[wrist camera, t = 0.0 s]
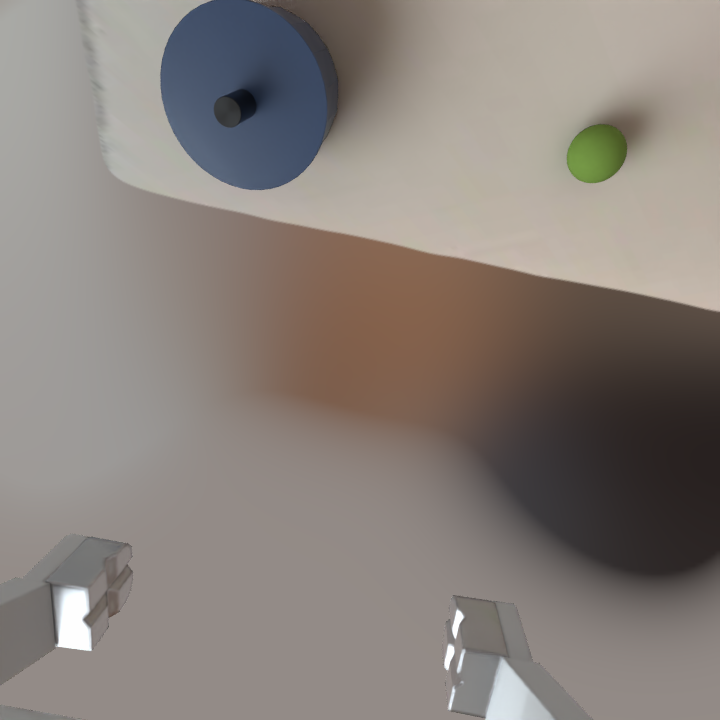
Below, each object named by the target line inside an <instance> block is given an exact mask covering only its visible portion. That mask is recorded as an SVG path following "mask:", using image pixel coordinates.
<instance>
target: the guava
mask: <svg viewBox="0 0 720 720" xmlns="http://www.w3.org/2000/svg"><path fill="white" fill-rule="evenodd" d="M626 154H627V143H626V140H625V137H624V135H623V134H622V133H621V132H620V131H619V130H618V129H617V128H615V127H613V126H610V125H605V124H599V125H594V126H591V127H588V128H586V129H585V130H583V131H582V132H580V133H579V134H578V135H577V136H576V137H575V138H574V140H573V141H572V143H571V145H570V147H569V149H568V153H567V164H568V168H569V170H570V172H571V173H572V175H573V176H574V177H576V178H577V179H578V180H580V181H583V182H586V183H597V182H602V181H604V180H607V179H608V178H610V177H612V176H613V175H614V174H615V173H616V172H617V171H618V170H619V169H620V168H621V166H622V165H623V163H624V161H625V158H626Z"/></svg>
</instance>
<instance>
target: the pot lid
mask: <svg viewBox="0 0 720 720" xmlns="http://www.w3.org/2000/svg"><path fill="white" fill-rule="evenodd" d="M161 93H162V100H163V104H164V109H165V112H166V115H167V118H168V121H169V123H170V125H171V128H172V130H173V132H174V134H175V136H176V137H177V139H178V141H179V142H180V144H181V145H182V147H183V148H184V150H185V151H186V152H187V154H188V155H189V156H190V157H191V158H192V159H193V160H194V161H195V162H196V163H197V164H198V165H199V166H200V167H201V168H202V169H203V170H205V171H206V172H208V173H209V174H210V175H212V176H213V177H215V178H217V179H219V180H220V181H222V182H225V183H227V184H229V185H232V186H235V187H239V188H243V189H249V190H264V189H271V188H275V187H279V186H281V185H284V184H286V183H288V182H290V181H291V180H293V179H295V178H296V177H298V176H299V175H300V174H301V173H302V172H303V171H304V170H305V169H306V168H307V167H308V166H309V165H310V164H311V162H312V161H313V159H314V158H315V156H316V155H317V153H318V151H319V149H320V146H321V144H322V142H323V138H324V135H325V132H326V126H327V120H328V96H327V90H326V84H325V81H324V77H323V74H322V70H321V68H320V65H319V63H318V61H317V58H316V56H315V55H314V53H313V51H312V49H311V47H310V46H309V44H308V43H307V41H306V40H305V39H304V37H303V36H302V35H301V33H300V32H299V31H298V30H297V29H296V28H295V27H294V26H293V25H292V24H291V23H290V22H289V21H288V20H286V19H285V18H284V17H283V16H282V15H280V14H279V13H277V12H275V11H274V10H272V9H271V8H268V7H266V6H264V5H262V4H260V3H257V2H253V1H250V0H213V1H210V2H207V3H204V4H202V5H200V6H198V7H197V8H195V9H193V10H192V11H190V12H189V13H188V14H187V15H186V16H185V17H184V18H183V19H182V20H181V21H180V22H179V24H178V25H177V26H176V27H175V29H174V31H173V32H172V34H171V36H170V37H169V40H168V42H167V45H166V47H165V51H164V55H163V59H162V65H161Z"/></svg>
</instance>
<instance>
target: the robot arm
mask: <svg viewBox="0 0 720 720" xmlns="http://www.w3.org/2000/svg"><path fill="white" fill-rule="evenodd" d="M131 558H132V546H131V545H129V544H128V543H123V542H117V541H111V540H106V539H100V538H95V537H87V536H82V535H76V534H70V535H68V536H66V537H64V538H63V540H61V541H60V542H59V543H58V544H57V545H56V546H55V547H54V548H53V549H52V550H51V551H50V552H49V553H48V554H47V555H46V556H45V557H44V558H43V559H42V560H41V561H40V562H38V564H36V565H35V566H34V567H33V568H32V569H31V570H30V571H29V572H28V573H27V574H26V575H25V576H24V577H23V578H14V579H11V580H9V581H7V582H4V583H2V584H0V685H2V684H3V683H5V682H6V681H8V680H9V679H11V678H12V677H14V676H15V675H17V674H18V673H20V672H21V671H23V670H24V669H25V668H27V667H29V666H30V665H31V664H33V663H34V662H36V661H37V660H39V659H40V658H41V657H43V656H45V655H46V654H48V653H49V652H51V651H52V650H54V649H55V648H56V646H59V647H66V648H74V649H81V650H89V651H92V650H93V649H94V647H95V646H96V644H97V643H98V642H99V640H100V639H101V637H102V636H103V634H104V633H105V632H106V630H107V629H108V627H109V623H108V618H109V617H111V616H113V615H115V614H116V613H118V612H120V610H121V608H122V607H123V606H124V604H125V603H126V601H127V598H128V596H129V593H130V591H131V587H132V581H133V571H132V570H131V569H130V567H129V566H128V565H127V563H128V562H129V561H130V559H131ZM449 612H450V619H449V620H448V621H446V623H445V629H444V635H443V665H444V667H445V668H446V669H447V671H448V673H447V677H446V682H445V686H446V695H447V705H448V711H451V712H456V713H461V714H466V715H471V716H477V717H481V718H486V719H485V720H593V719H592V718H591V717H590V716H589V715H588V714H587V712H585V710H584V709H583V708H582V707H581V706H580V705H579V704H578V703H577V702H576V701H575V700H574V699H573V698H572V697H571V696H570V695H569V694H568V693H567V692H566V690H565V689H564V688H563V687H562V686H561V685H560V684H559V683H558V682H557V681H556V680H555V679H554V678H553V677H552V676H551V675H550V673H549V672H548V671H547V670H546V669H545V668H544V667H543V666H542V665H541V664H540V663H536V662H533V659H532V656H531V652H530V649H529V646H528V643H527V639H526V636H525V633H524V630H523V627H522V623H521V620H520V617H519V613H518V610H517V607H516V606H515V605H514V604H512V603H505V602H498V601H489V600H482V599H476V598H469V597H462V596H456V595H453V596H452V598H451V602H450V606H449ZM0 720H85V719H79V718H73V717H67V716H61V715H56V714H50V713H44V712H38V711H33V710H27V709H21V708H15V707H10V706H4V705H0Z"/></svg>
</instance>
